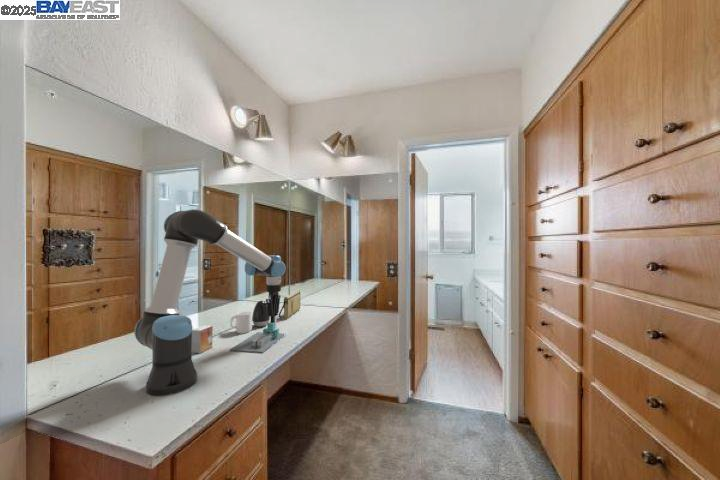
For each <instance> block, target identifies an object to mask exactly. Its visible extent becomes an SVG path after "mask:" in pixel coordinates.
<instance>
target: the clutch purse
mask: <svg viewBox="0 0 720 480" xmlns="http://www.w3.org/2000/svg"><path fill="white" fill-rule="evenodd" d="M299 309H301V291H300V290H297V291H295V292H293V293H291V294H289V295H287V296H285V297H284V298H283V305H282V307H281V309H280V311H279V313H278V317H279V318H282V316H281V314H282V311H283V315H284V316H283V318H284V320H287V319H288V317H289V318H290V317H291V315H292V314H293V315H294V314H296V313H297V312H298V311H300V310H299ZM296 311H297V312H296ZM295 312H296V313H295ZM293 315H292V316H293Z"/></svg>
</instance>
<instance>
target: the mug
mask: <svg viewBox="0 0 720 480" xmlns="http://www.w3.org/2000/svg"><path fill="white" fill-rule="evenodd" d="M252 316H253V312H252V311H241V312H240V311H239V312H237V313H236V315H233V316H232V317H230V321H229V322H230V326H231V327H232V328H233V329H235V330H236V331H235V332H236V333H238V334H247V333H250V332H251V331H252V329H253V321H252ZM235 319H236V320H235ZM234 320H235V325H234V322H233V321H234Z"/></svg>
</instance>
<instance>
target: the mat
mask: <svg viewBox="0 0 720 480" xmlns="http://www.w3.org/2000/svg"><path fill="white" fill-rule="evenodd" d="M262 334H263V331H262V332H256V333H254V334H252V335H251V336H249V337H248V338H246V339H244V340H242V341H240V342H239V343H238V344H236V345H234V346H233V347H231V348H229V350H228V351H229V352H238V353H239V352H240V353H254V352H258V353H257V354H259V353H260V354H264V353H265V352H266V351H268V350H269V349H270V348H272V347H273V346H274V345H276V344H277V343H278V342H279V341H280V339H281V338H282V337H283V336H284V334H285V333H281V332H279V337H278V338H277V339H275V338H274V339H273V340H271V341H270V342H269V343H267V344H266V345H265V346H263V347H262V348H257V347H256V348H254V347H252V341H253V340H254V339H256V338H258V337H259V336H261V335H262ZM284 337H285V336H284ZM284 337H283V338H284ZM283 338H282V339H283ZM282 339H281V340H282ZM278 340H279V341H278ZM277 341H278V342H277ZM276 342H277V343H276ZM273 344H274V345H273ZM272 345H273V346H272ZM271 346H272V347H271ZM268 348H269V349H268ZM267 349H268V350H267ZM263 352H264V353H263Z"/></svg>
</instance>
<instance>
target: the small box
mask: <svg viewBox="0 0 720 480" xmlns="http://www.w3.org/2000/svg"><path fill="white" fill-rule="evenodd" d="M212 348H213V325H204V324H203V325H200V326H198V327H196V328H192V354H202V353H204V352H206V351H207V350H210V349H212Z"/></svg>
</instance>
